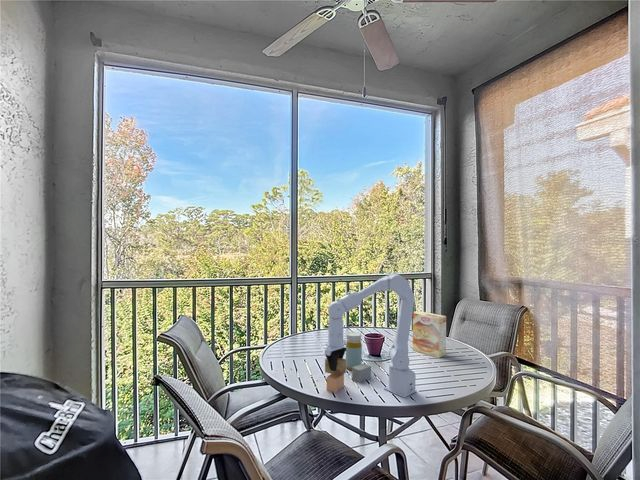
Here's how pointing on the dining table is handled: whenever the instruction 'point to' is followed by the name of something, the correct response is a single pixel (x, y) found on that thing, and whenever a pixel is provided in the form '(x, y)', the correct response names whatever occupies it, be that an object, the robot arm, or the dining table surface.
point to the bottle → (353, 350)
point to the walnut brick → (339, 369)
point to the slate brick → (361, 372)
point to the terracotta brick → (335, 382)
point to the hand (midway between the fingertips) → (335, 368)
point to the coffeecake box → (429, 333)
